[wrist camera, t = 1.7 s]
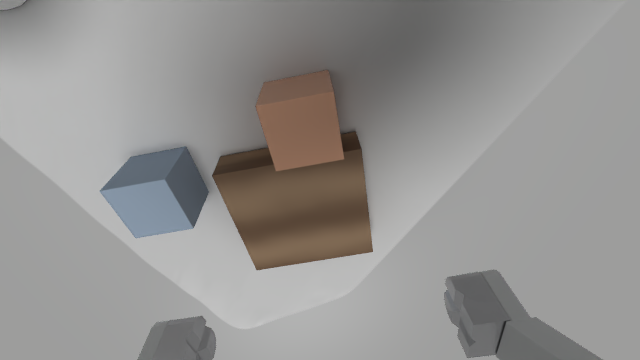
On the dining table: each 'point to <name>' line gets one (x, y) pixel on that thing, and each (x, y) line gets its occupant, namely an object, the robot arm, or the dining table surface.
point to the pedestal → (297, 206)
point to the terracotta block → (300, 120)
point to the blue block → (157, 192)
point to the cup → (10, 4)
